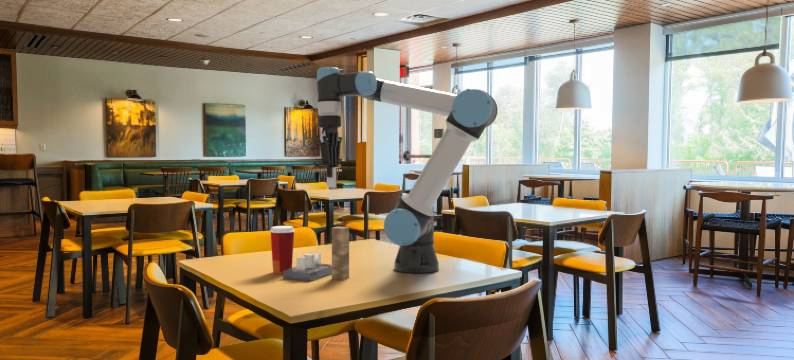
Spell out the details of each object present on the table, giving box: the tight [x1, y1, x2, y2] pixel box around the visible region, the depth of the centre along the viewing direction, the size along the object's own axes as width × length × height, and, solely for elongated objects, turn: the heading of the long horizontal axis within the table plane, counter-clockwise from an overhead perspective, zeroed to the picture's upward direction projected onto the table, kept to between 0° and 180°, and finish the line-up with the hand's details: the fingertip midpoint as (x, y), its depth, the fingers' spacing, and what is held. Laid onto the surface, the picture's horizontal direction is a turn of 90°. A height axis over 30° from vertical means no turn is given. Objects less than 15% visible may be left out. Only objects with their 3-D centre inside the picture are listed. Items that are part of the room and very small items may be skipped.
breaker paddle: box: [303, 253, 314, 268], centre depth 188 cm, size 3×2×4 cm, turn 66°
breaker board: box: [282, 252, 332, 282], centre depth 188 cm, size 10×14×6 cm
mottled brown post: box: [331, 226, 350, 281], centre depth 184 cm, size 4×4×16 cm
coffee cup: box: [268, 225, 296, 275], centre depth 193 cm, size 8×8×15 cm
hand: (331, 187), depth 193 cm, fingers closed
